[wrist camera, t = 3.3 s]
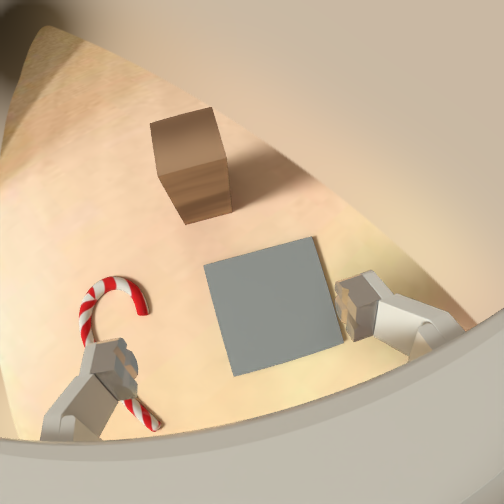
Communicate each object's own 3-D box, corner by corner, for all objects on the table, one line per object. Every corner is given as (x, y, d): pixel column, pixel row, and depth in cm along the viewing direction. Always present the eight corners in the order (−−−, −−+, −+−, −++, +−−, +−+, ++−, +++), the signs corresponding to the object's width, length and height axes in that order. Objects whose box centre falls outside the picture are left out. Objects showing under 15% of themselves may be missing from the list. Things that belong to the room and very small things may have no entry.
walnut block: (232, 212, 29) (226, 157, 19) (185, 224, 28) (157, 176, 18) (220, 171, 29) (211, 106, 20) (176, 183, 29) (149, 123, 19)
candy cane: (126, 441, 23) (64, 296, 25) (131, 437, 24) (71, 297, 27) (199, 417, 24) (129, 263, 26) (201, 413, 25) (134, 266, 28)
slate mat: (342, 342, 26) (343, 342, 26) (234, 375, 25) (233, 376, 25) (310, 237, 28) (311, 236, 28) (204, 266, 27) (203, 265, 27)
